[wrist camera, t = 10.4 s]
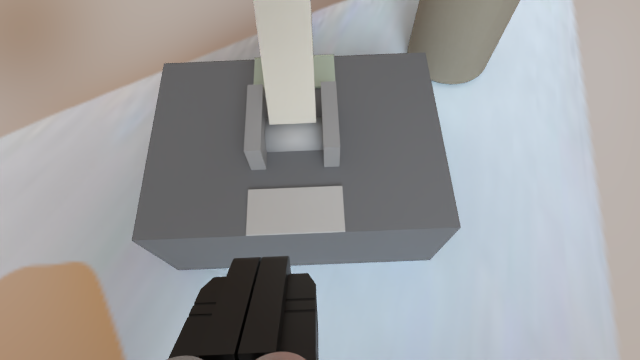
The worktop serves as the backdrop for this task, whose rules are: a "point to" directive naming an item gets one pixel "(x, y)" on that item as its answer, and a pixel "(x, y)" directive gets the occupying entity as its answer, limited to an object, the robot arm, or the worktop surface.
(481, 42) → the travel mug
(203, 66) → the grey box
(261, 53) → the white tall piece
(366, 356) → the worktop surface
